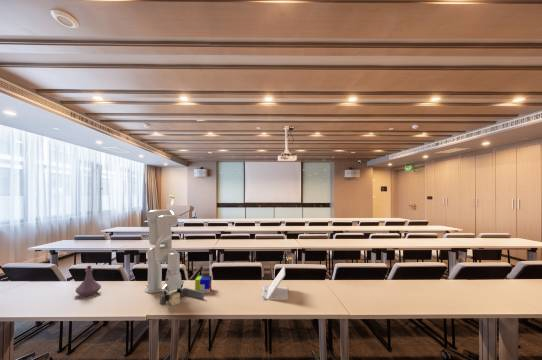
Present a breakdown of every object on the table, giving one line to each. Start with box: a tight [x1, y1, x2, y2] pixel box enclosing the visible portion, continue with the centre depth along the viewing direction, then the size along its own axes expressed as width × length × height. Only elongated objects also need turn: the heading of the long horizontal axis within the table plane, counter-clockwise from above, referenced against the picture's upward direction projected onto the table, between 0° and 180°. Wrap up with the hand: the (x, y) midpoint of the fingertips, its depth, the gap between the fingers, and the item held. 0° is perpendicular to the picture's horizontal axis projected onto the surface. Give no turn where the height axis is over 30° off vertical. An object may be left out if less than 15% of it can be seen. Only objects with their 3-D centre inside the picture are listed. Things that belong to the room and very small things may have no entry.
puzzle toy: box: [194, 275, 212, 294], centre depth 209 cm, size 10×10×10 cm
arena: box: [159, 287, 205, 307], centre depth 188 cm, size 18×21×5 cm
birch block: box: [165, 291, 181, 307], centre depth 184 cm, size 6×6×6 cm
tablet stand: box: [261, 265, 289, 301], centre depth 204 cm, size 18×25×17 cm
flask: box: [75, 265, 102, 298], centre depth 203 cm, size 16×16×20 cm
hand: (172, 298), depth 185 cm, fingers open, 9 cm apart
